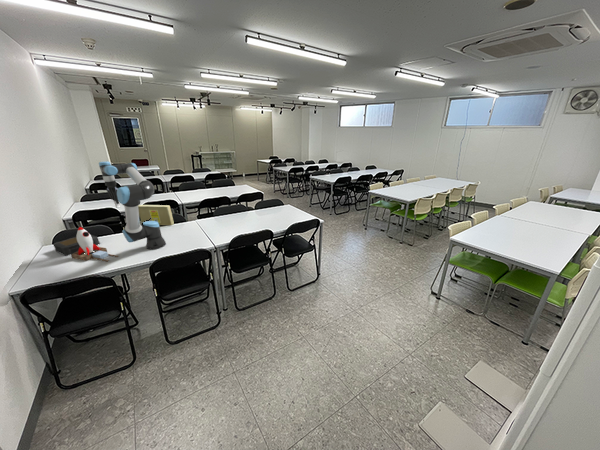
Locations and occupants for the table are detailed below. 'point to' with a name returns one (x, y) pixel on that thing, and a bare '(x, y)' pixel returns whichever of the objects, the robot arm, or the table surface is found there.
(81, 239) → the rocket
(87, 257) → the tray
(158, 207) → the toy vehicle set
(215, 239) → the table surface
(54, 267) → the table surface
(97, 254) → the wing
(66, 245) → the cash box
